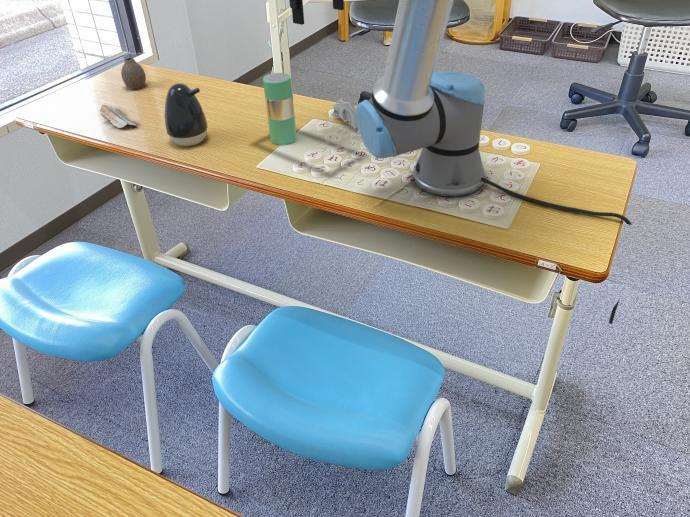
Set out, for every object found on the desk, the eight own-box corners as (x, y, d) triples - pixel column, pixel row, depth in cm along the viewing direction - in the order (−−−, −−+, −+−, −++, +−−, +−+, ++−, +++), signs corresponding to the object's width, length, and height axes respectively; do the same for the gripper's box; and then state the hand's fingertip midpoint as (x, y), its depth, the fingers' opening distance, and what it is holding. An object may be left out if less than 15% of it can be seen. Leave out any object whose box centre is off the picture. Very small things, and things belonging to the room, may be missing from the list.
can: (296, 76, 139) (277, 70, 142) (276, 84, 135) (256, 78, 138) (302, 137, 148) (284, 130, 152) (283, 147, 145) (264, 140, 148)
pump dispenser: (201, 152, 145) (189, 93, 136) (163, 150, 147) (148, 91, 138) (217, 134, 153) (206, 77, 144) (180, 132, 155) (167, 75, 146)
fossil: (94, 112, 167) (103, 100, 167) (103, 119, 169) (113, 107, 170) (119, 132, 155) (129, 119, 156) (129, 139, 158) (139, 127, 158)
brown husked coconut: (121, 91, 180) (113, 62, 174) (131, 82, 185) (123, 54, 180) (142, 91, 179) (134, 63, 173) (151, 83, 184) (144, 55, 179)
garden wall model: (333, 114, 160) (332, 93, 156) (338, 113, 161) (337, 92, 157) (354, 130, 152) (353, 109, 148) (360, 129, 152) (360, 107, 149)
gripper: (337, -101, 130) (341, 1, 142) (255, -86, 115) (268, 27, 127) (364, -100, 126) (366, 5, 138) (282, -84, 111) (293, 32, 123)
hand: (319, 16), depth 133 cm, fingers open, 13 cm apart
